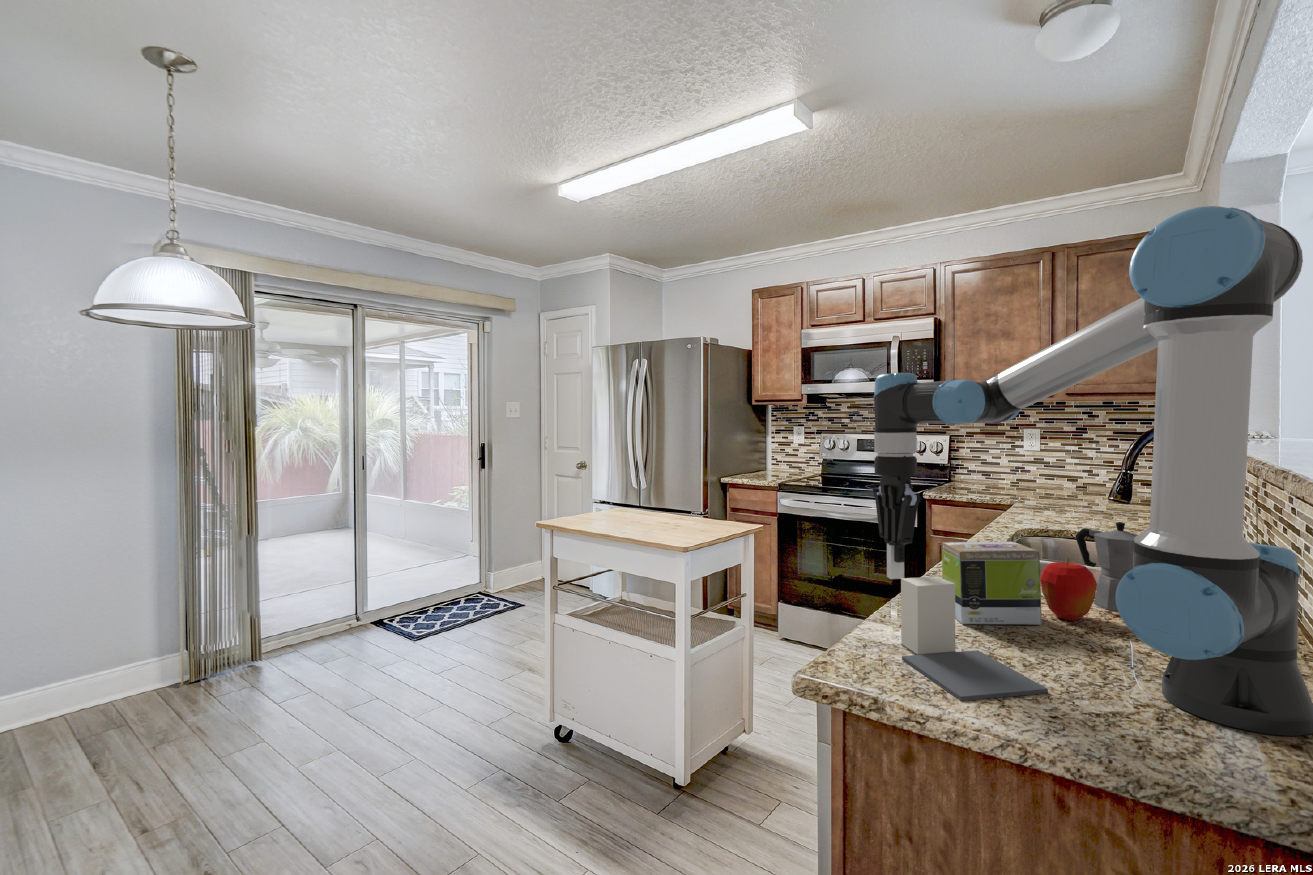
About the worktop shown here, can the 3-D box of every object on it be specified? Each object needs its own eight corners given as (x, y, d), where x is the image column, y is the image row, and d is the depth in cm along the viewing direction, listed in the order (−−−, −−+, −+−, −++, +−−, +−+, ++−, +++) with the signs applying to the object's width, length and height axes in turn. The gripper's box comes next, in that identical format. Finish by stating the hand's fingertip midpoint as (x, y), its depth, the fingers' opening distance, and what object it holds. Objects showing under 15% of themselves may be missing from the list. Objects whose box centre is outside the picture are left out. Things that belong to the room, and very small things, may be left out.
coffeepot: (1169, 612, 122) (1170, 524, 121) (1144, 619, 118) (1144, 528, 117) (1088, 593, 136) (1088, 514, 135) (1063, 599, 132) (1063, 518, 131)
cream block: (955, 653, 102) (955, 583, 102) (917, 656, 101) (917, 586, 101) (937, 642, 107) (937, 576, 107) (901, 645, 106) (901, 578, 106)
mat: (1048, 692, 87) (1048, 688, 87) (960, 700, 85) (960, 696, 85) (977, 653, 101) (977, 650, 101) (901, 659, 99) (901, 656, 99)
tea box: (1016, 610, 124) (1016, 540, 124) (1042, 627, 114) (1042, 550, 114) (941, 609, 126) (941, 539, 125) (960, 625, 116) (960, 550, 115)
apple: (1101, 617, 119) (1101, 558, 119) (1090, 628, 113) (1090, 566, 112) (1047, 607, 126) (1047, 551, 125) (1034, 617, 120) (1034, 558, 119)
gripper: (934, 456, 107) (934, 586, 108) (895, 452, 120) (895, 568, 121) (895, 457, 106) (895, 588, 107) (860, 453, 119) (860, 570, 120)
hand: (895, 577), depth 114 cm, fingers closed
